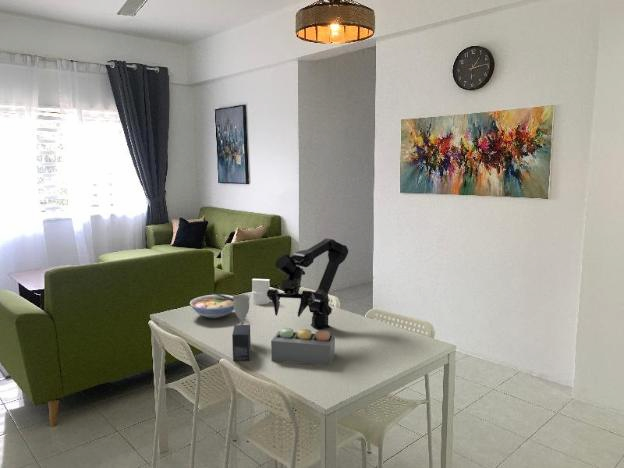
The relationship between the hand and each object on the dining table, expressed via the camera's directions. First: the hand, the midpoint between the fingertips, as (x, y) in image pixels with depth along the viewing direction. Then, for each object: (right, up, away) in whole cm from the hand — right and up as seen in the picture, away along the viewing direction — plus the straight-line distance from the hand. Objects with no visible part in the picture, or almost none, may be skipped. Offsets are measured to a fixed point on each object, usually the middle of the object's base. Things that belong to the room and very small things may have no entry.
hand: (287, 315), depth 188 cm
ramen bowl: (-36, -7, +40) cm, 54 cm away
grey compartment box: (+7, -14, -7) cm, 17 cm away
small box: (-17, -14, -6) cm, 23 cm away
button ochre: (+7, -8, -7) cm, 12 cm away
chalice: (-19, -12, +11) cm, 25 cm away
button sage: (0, -7, -5) cm, 9 cm away
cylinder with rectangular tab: (-17, -4, +63) cm, 65 cm away
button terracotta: (+14, -8, -8) cm, 18 cm away
